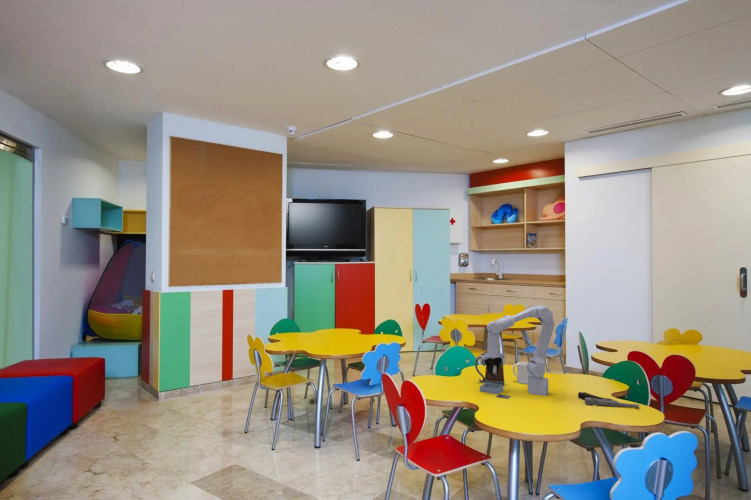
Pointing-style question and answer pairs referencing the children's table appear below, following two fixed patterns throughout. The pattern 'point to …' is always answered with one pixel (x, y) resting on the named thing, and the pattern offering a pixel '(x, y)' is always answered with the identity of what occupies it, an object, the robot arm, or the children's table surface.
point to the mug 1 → (488, 379)
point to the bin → (491, 388)
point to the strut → (494, 372)
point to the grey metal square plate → (503, 396)
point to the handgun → (602, 401)
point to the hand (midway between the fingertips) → (493, 373)
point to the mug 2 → (521, 372)
